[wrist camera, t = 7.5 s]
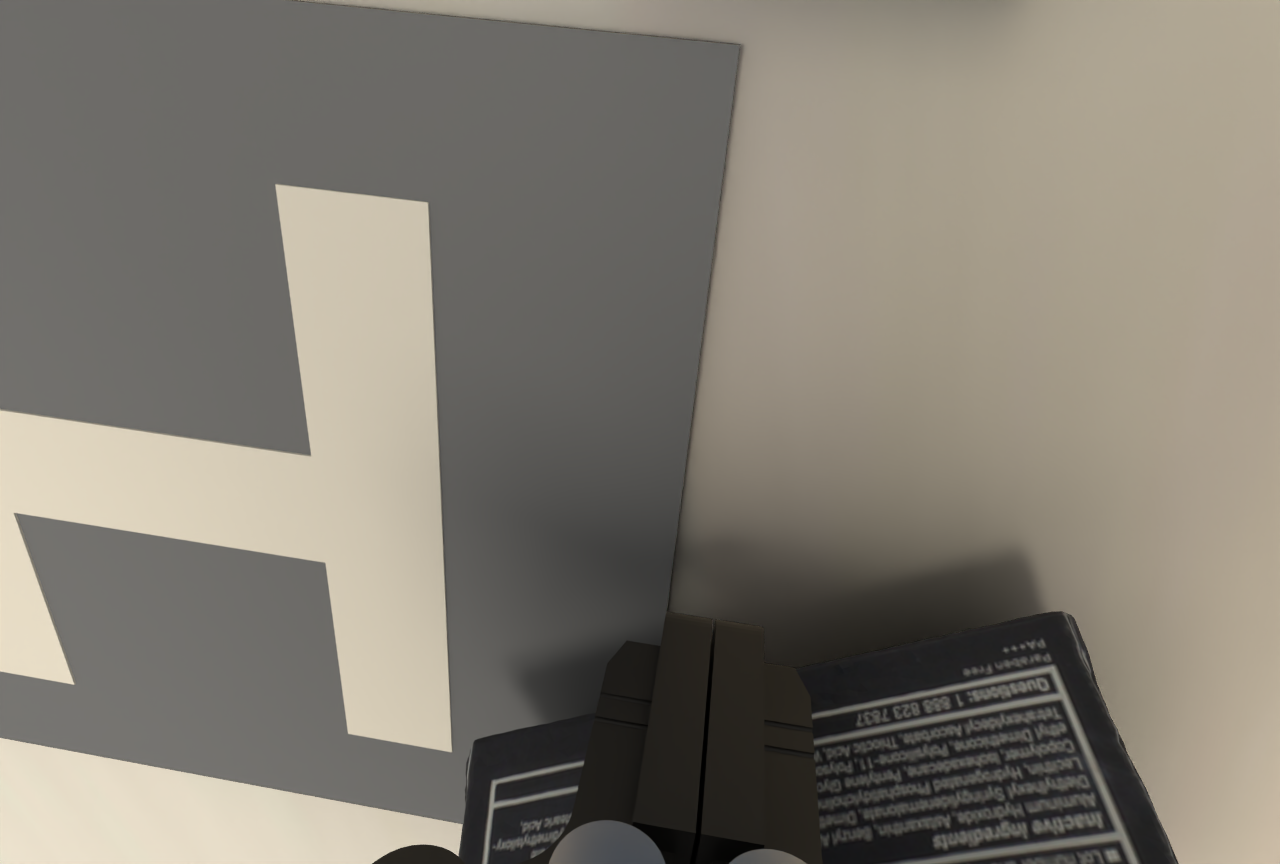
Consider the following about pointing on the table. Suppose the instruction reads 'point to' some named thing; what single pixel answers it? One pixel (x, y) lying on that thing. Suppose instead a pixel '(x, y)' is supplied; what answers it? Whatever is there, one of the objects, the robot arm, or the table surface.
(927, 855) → the small box
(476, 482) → the letter board
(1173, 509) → the table surface
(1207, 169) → the table surface
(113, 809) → the table surface
